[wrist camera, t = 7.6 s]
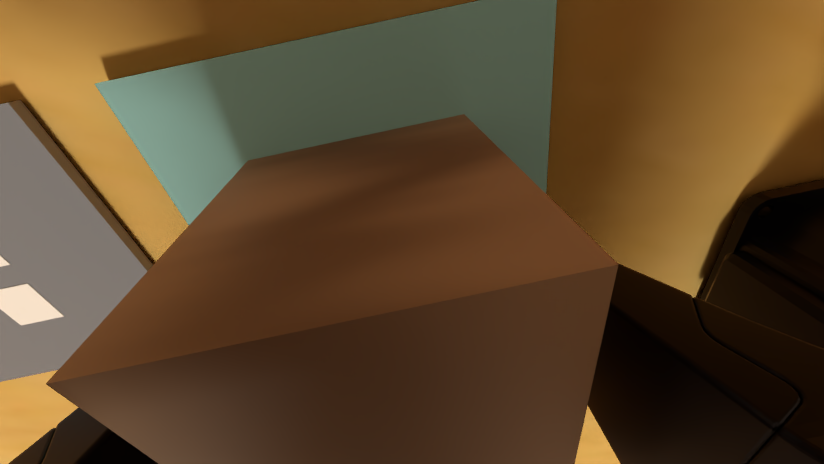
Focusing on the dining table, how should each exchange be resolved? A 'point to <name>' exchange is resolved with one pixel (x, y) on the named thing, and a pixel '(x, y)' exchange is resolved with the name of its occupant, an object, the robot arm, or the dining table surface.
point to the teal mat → (346, 93)
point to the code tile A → (53, 251)
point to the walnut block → (359, 315)
